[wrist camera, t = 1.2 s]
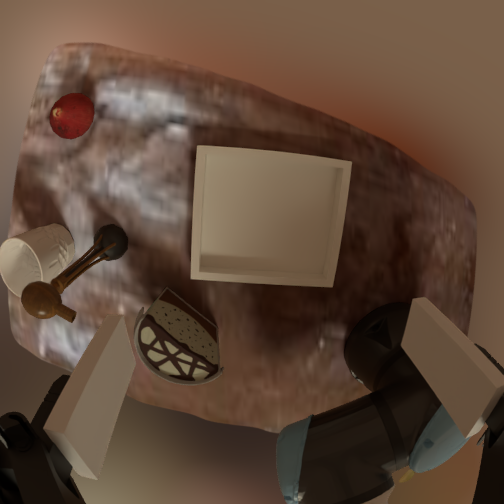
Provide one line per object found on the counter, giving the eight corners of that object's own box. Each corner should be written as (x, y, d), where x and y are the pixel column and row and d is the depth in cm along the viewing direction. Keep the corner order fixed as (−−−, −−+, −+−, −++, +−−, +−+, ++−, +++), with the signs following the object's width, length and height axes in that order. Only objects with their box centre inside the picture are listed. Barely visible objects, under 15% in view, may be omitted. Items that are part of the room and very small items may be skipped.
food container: (134, 307, 42) (111, 346, 32) (158, 279, 40) (138, 315, 31) (199, 357, 45) (192, 402, 35) (225, 333, 43) (223, 377, 34)
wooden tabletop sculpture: (139, 236, 38) (66, 308, 19) (128, 266, 40) (60, 350, 21) (102, 218, 37) (10, 273, 18) (93, 248, 38) (8, 317, 19)
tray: (343, 160, 37) (352, 161, 34) (326, 278, 41) (332, 287, 39) (200, 146, 35) (197, 145, 32) (193, 270, 40) (190, 278, 37)
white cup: (45, 209, 36) (3, 226, 27) (85, 234, 38) (48, 258, 28) (32, 254, 38) (-6, 278, 29) (70, 279, 40) (36, 310, 30)
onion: (98, 141, 34) (68, 140, 27) (64, 137, 33) (31, 136, 26) (108, 98, 33) (80, 88, 25) (73, 96, 32) (41, 87, 24)
